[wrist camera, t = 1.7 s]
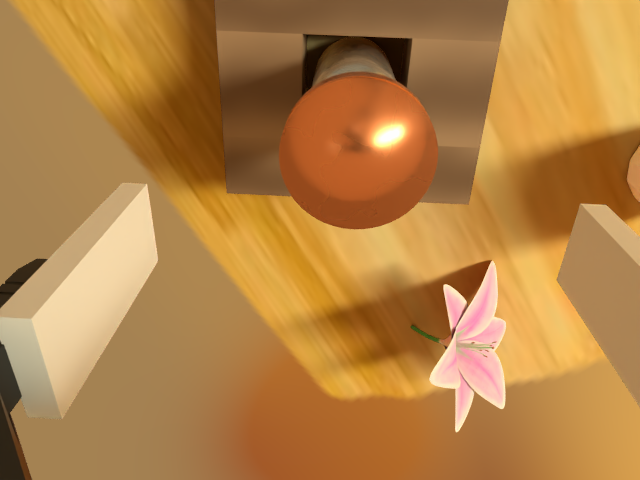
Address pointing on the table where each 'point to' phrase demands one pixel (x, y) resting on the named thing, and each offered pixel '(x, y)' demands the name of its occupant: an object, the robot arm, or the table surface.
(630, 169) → the white cup
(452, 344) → the lily
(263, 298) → the table surface
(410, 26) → the socket block
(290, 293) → the table surface
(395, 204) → the copper-capped cylinder
